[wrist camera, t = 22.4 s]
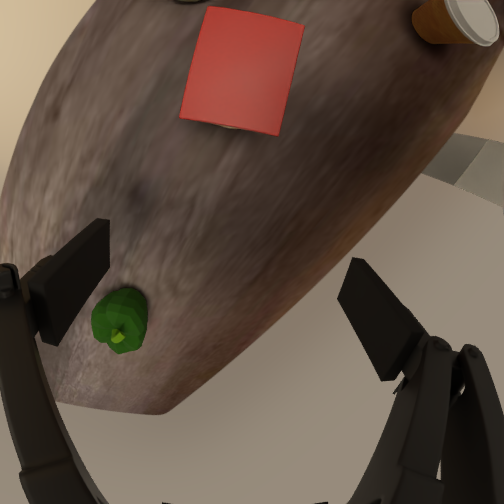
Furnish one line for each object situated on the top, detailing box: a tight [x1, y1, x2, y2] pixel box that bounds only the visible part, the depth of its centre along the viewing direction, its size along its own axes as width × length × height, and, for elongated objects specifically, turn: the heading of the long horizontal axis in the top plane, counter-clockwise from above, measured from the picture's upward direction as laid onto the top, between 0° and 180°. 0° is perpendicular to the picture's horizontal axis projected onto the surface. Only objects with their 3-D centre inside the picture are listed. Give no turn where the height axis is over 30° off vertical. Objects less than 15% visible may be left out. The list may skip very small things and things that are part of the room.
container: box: [179, 6, 305, 136], centre depth 25 cm, size 13×8×10 cm
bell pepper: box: [91, 288, 148, 354], centre depth 37 cm, size 8×8×10 cm
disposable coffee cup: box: [412, 0, 499, 46], centre depth 21 cm, size 10×10×12 cm
